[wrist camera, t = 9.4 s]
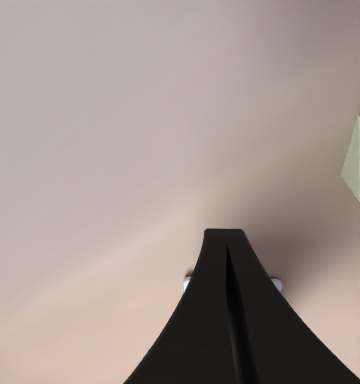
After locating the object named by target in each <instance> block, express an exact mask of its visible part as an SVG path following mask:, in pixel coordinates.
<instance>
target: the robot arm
mask: <svg viewBox="0 0 360 384" xmlns="http://www.w3.org/2000/svg"><path fill="white" fill-rule="evenodd" d="M281 289H282V283H281V281H280V280H278V279H271V278H270V277H269V275H268V274H267V272H266V271H265V269H264V267H263V266H262V264H261V263H260V261H259V259H258V258H257V256H256V254H255V252H254V251H253V249H252V247H251V245H250V243H249V241H248V239H247V237H246V235H245V232H244V231H243V230H242V229H210V228H207V229H206V230H205V231H204V239H203V244H202V248H201V252H200V255H199V258H198V261H197V263H196V266H195V269H194V271H193V274H192V276H191V277H186V278H185V279H184V294H183V296H182V298H181V300H180V301H179V303H178V305H177V307H176V309H175V311H174V312H173V314H172V316H171V318H170V319H169V321H168V322H167V324H166V326H165V327H164V329H163V330H162V332H161V334H160V335H159V337H158V338H157V340H156V341H155V343H154V344H153V345H152V347H151V348H150V350H149V351H148V352H147V354H146V355H145V356H144V358H143V359H142V361H141V362H140V363H139V365H138V366H137V367H136V369H135V370H134V371H133V372H132V374H131V375H130V376H129V377H128V379H127V380H126V381H125V382H124V383H123V384H360V379H359V378H358V377H357V376H356V375H355V374H354V373H353V372H352V371H351V370H349V369H348V368H347V367H346V366H345V365H344V364H343V363H342V362H341V361H340V360H339V359H338V358H337V357H336V356H335V355H334V354H333V353H332V352H331V351H330V350H329V349H328V348H327V347H326V346H325V345H324V344H323V343H322V342H321V341H320V340H319V338H318V337H317V336H316V335H315V334H314V333H313V332H312V331H311V330H310V328H309V327H308V326H307V325H306V324H305V323H304V322H303V321H302V319H301V318H300V317H299V316H298V315H297V313H296V312H295V311H294V310H293V308H292V307H291V306H290V305H289V303H288V302H287V301H286V299H285V298H284V297H283V295H282V294H281Z"/></svg>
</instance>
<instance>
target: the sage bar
mask: <svg viewBox="0 0 360 384" xmlns="http://www.w3.org/2000/svg"><path fill="white" fill-rule="evenodd" d="M340 176H341V177H342V178H343V180H344V181H345V183H346V184H347V185H348V187H349V188H350V190H351V191H352V192H353V194H354V195H355V196H356V198H357V199H358V201H359V202H360V115H358V116H357V120H356V123H355V127H354V130H353V133H352V137H351V140H350V144H349V147H348V151H347V154H346V158H345V161H344V164H343V168H342V171H341V175H340Z"/></svg>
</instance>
